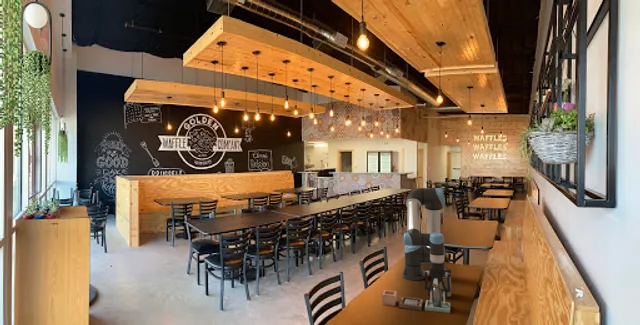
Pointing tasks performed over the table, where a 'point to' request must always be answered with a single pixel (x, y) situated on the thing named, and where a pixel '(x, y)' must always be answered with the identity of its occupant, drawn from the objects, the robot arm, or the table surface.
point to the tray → (430, 307)
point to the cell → (436, 296)
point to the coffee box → (438, 282)
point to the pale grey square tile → (411, 302)
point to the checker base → (414, 307)
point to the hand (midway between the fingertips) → (437, 302)
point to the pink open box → (389, 297)
